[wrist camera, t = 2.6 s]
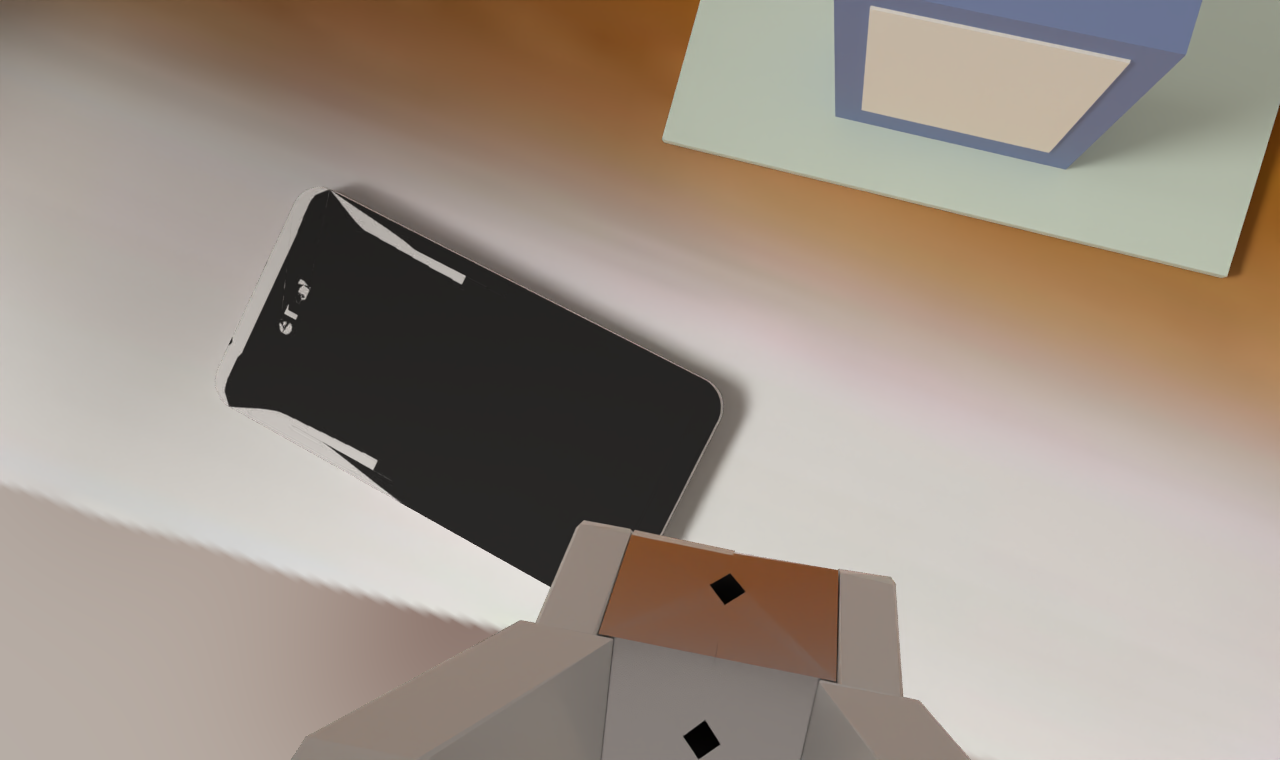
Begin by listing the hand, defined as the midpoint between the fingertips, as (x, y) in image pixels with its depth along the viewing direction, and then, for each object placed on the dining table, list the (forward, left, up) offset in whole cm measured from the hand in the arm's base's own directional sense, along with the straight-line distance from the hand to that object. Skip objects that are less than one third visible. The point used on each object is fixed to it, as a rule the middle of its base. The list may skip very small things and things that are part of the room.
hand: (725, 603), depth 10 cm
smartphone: (-11, -1, -21) cm, 24 cm away
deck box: (+1, +11, -20) cm, 23 cm away
